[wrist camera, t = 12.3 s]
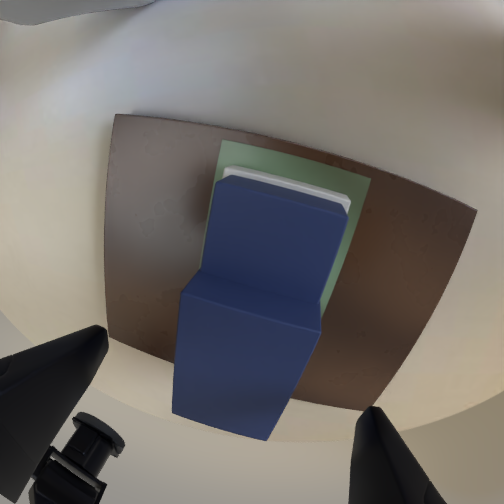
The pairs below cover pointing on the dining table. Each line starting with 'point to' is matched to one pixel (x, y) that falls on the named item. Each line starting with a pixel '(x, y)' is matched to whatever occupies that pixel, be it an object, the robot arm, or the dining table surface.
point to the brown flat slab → (343, 271)
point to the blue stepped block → (255, 300)
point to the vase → (58, 9)
